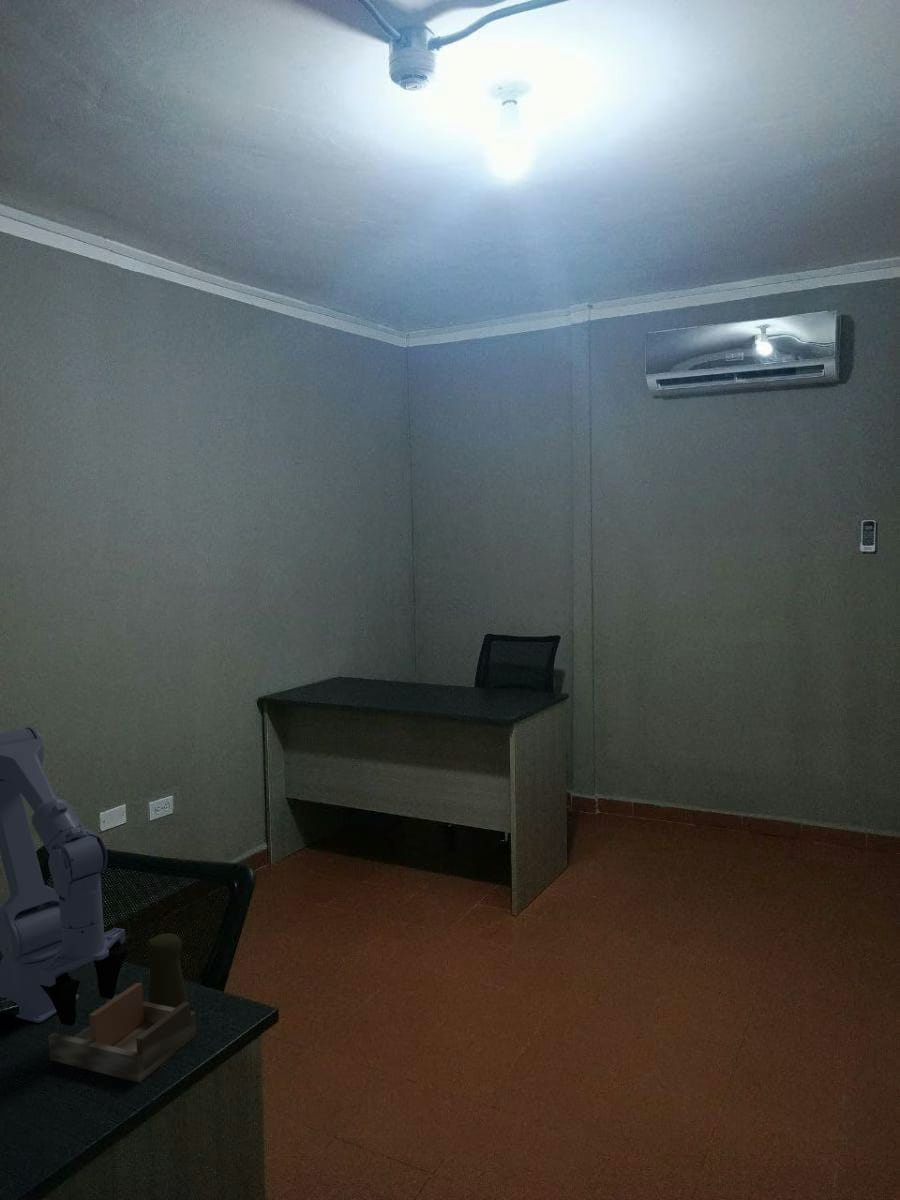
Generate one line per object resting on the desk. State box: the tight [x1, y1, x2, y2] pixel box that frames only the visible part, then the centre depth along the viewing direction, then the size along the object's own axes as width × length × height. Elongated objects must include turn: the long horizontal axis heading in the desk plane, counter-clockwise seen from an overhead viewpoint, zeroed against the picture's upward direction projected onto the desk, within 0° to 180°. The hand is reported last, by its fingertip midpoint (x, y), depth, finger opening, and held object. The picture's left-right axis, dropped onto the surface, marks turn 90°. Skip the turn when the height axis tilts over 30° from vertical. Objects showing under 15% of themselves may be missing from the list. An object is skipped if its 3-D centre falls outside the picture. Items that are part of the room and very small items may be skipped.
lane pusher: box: [88, 982, 144, 1046], centre depth 127 cm, size 1×9×6 cm, turn 158°
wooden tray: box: [48, 994, 198, 1083], centre depth 126 cm, size 16×12×6 cm
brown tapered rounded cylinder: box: [146, 933, 188, 1008], centre depth 138 cm, size 6×6×11 cm
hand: (88, 1010), depth 129 cm, fingers open, 7 cm apart
